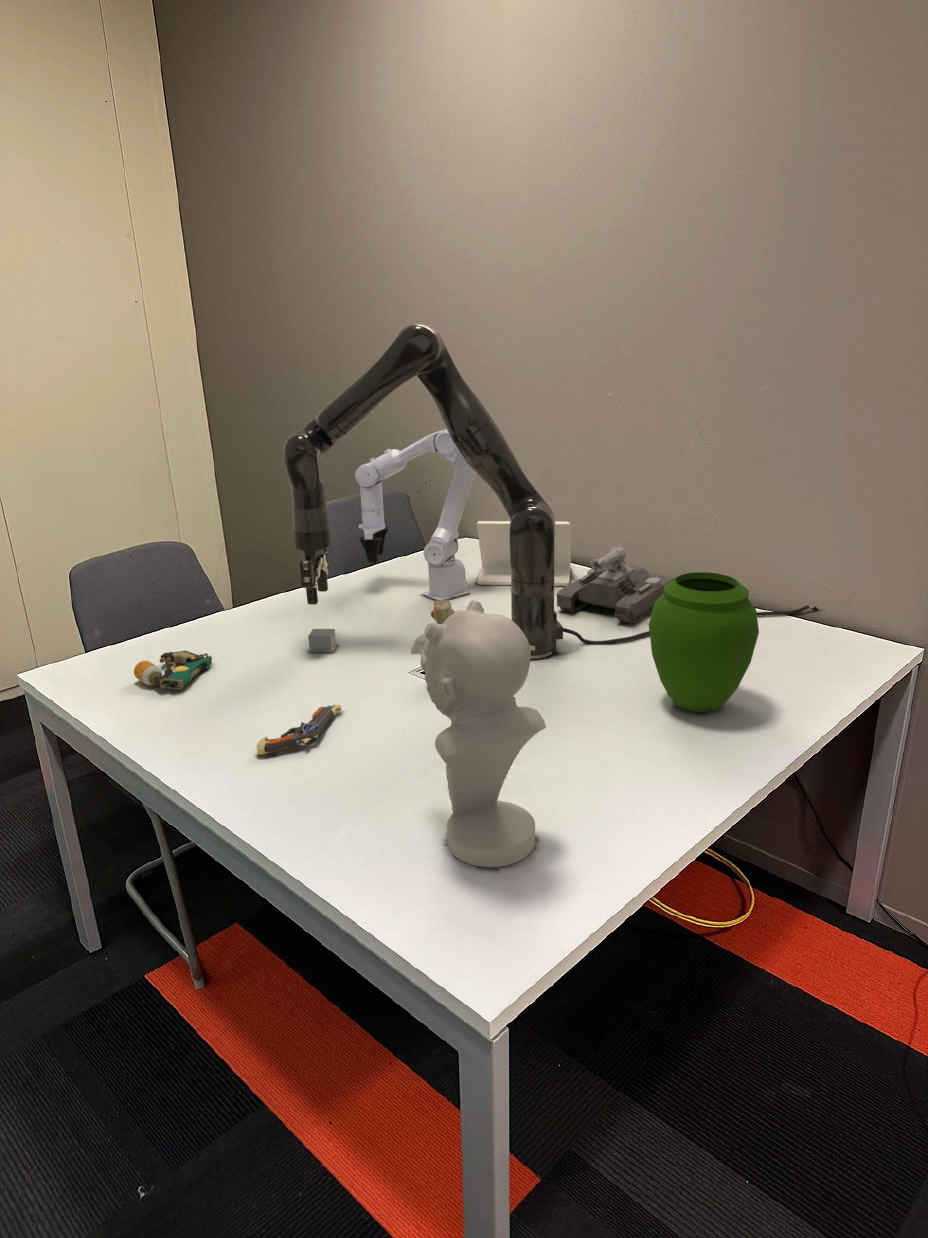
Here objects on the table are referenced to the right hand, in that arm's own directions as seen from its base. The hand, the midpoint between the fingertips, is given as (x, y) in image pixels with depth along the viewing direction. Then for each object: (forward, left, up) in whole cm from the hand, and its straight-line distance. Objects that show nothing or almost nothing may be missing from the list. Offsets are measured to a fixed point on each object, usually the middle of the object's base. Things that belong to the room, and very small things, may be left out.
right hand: (318, 597), depth 188 cm
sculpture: (-25, +19, -12) cm, 34 cm away
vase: (-68, +47, -12) cm, 84 cm away
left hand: (-17, -39, -4) cm, 43 cm away
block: (0, 0, -12) cm, 12 cm away
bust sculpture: (-18, +77, -12) cm, 80 cm away
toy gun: (+6, +40, -12) cm, 42 cm away
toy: (-73, -10, -12) cm, 75 cm away
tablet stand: (-58, -39, -12) cm, 71 cm away
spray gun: (+31, +7, -12) cm, 34 cm away
